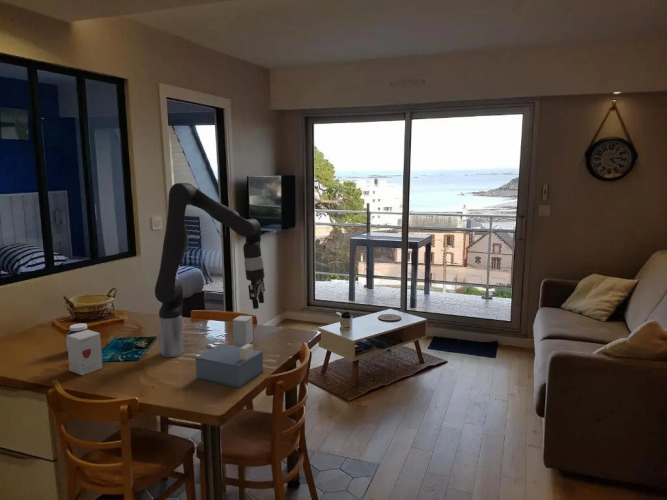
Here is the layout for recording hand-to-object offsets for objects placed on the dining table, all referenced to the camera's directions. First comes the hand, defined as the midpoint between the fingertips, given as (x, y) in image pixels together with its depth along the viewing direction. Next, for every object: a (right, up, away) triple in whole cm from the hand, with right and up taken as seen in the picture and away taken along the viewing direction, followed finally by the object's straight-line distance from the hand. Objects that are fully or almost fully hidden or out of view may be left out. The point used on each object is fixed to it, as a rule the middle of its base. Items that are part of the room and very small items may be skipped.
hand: (258, 305), depth 197 cm
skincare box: (-9, -22, +14) cm, 28 cm away
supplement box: (-69, -25, -6) cm, 73 cm away
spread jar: (-81, -22, +13) cm, 85 cm away
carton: (-10, -26, -11) cm, 30 cm away
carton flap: (-9, -18, -12) cm, 24 cm away
